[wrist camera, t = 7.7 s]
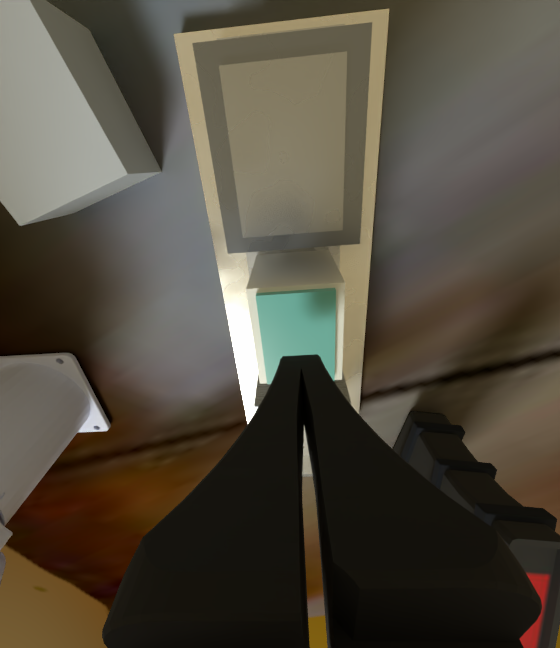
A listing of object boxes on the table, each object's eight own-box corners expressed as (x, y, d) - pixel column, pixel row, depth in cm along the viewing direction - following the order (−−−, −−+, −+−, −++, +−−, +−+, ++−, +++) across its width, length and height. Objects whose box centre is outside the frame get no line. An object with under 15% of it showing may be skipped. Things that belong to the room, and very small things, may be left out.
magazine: (366, 521, 29) (467, 753, 14) (383, 393, 28) (511, 494, 13) (402, 524, 29) (541, 756, 14) (421, 397, 28) (589, 500, 13)
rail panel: (249, 420, 25) (237, 501, 19) (179, 40, 13) (90, -62, 7) (356, 415, 24) (378, 497, 18) (383, 17, 12) (471, -115, 7)
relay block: (75, 213, 17) (19, 225, 13) (-8, 91, 14) (-104, 68, 11) (163, 171, 16) (127, 174, 12) (91, 31, 13) (19, -18, 10)
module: (266, 331, 18) (259, 387, 14) (256, 254, 16) (245, 292, 11) (328, 328, 18) (343, 383, 14) (329, 249, 16) (346, 285, 11)
